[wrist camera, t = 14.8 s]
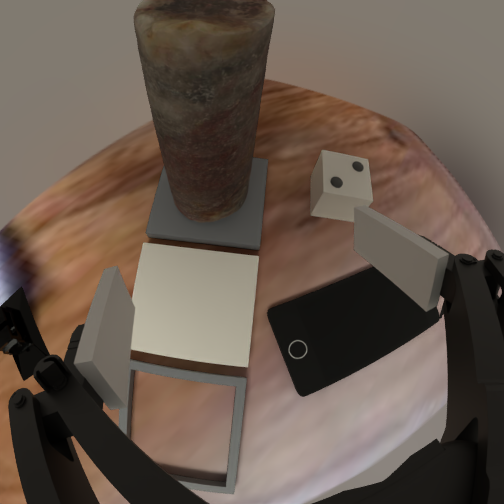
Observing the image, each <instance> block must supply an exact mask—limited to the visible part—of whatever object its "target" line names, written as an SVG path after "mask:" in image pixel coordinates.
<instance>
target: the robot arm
mask: <svg viewBox="0 0 504 504" xmlns="http://www.w3.org/2000/svg"><path fill="white" fill-rule="evenodd" d="M354 251H356V252H357V253H358V254H359V255H361V256H362V257H363V258H364V259H365V260H367V261H368V262H369V263H370V264H372V265H373V266H374V267H375V268H376V269H378V270H379V271H380V272H381V273H382V274H384V275H385V276H386V277H387V278H388V279H390V280H391V281H392V282H393V283H394V284H395V285H397V286H398V287H399V288H400V289H401V290H402V291H403V292H405V293H406V294H407V295H408V296H409V297H410V298H411V299H413V300H414V301H415V302H416V303H417V304H418V305H419V306H420V307H422V308H423V309H424V310H425V311H426V312H427V311H428V310H430V309H432V308H434V307H436V306H437V304H438V301H439V297H440V295H441V296H442V297H443V298H444V303H443V306H442V310H441V313H440V317H439V318H442V315H443V314H444V319H445V329H446V343H447V364H448V400H447V420H446V428H445V431H444V434H443V436H442V439H441V442H440V443H439V441H438V440H437V439H435V440H434V441H432V442H431V443H429V444H428V445H427V446H425V447H424V448H422V449H421V450H419V451H417V452H416V453H414V454H413V455H411V456H410V457H409V458H408V459H407V460H406V461H405V462H404V463H403V464H402V465H401V466H400V467H399V468H398V469H397V470H396V471H394V473H392V474H391V475H390V476H389V477H388V478H387V479H385V480H384V481H382V482H379V483H376V484H372V485H368V486H364V487H360V488H355V489H351V490H347V491H343V492H341V493H338V494H336V495H333V496H331V497H329V498H326V499H323V500H321V501H318V502H315V503H312V504H504V253H502V252H501V251H499V250H498V251H497V250H488V251H487V252H486V256H485V260H480V261H478V260H477V259H476V258H475V257H473V256H471V255H468V254H458V255H456V256H454V255H453V254H451V253H450V252H448V251H447V250H445V249H443V248H442V247H440V246H439V245H438V246H437V244H435V243H434V242H431V240H429V239H427V238H426V237H424V236H421V235H417V234H416V233H414V232H412V231H411V230H409V229H407V228H405V227H404V226H402V225H400V224H399V223H397V222H395V221H393V220H391V219H390V218H388V217H386V216H384V215H382V214H381V213H379V212H377V211H375V210H373V209H371V208H369V207H368V206H366V205H362V206H358V207H354ZM500 287H501V289H502V294H501V297H500V298H499V296H498V295H497V294H498V291H499V288H500ZM134 316H135V306H134V304H133V302H132V300H131V297H130V295H129V293H128V290H127V288H126V286H125V283H124V281H123V279H122V276H121V274H120V271H119V269H118V266H114V267H110V268H107V269H104V271H103V274H102V276H101V279H100V282H99V284H98V287H97V290H96V293H95V296H94V298H93V301H92V304H91V307H90V310H89V313H88V316H87V319H86V322H85V324H82V325H78V327H77V328H76V329H75V331H74V332H73V333H72V336H71V339H70V343H69V345H68V348H67V349H68V350H67V352H66V355H65V358H64V362H63V361H62V359H61V358H60V357H59V356H58V355H49V356H46V357H45V358H43V359H41V360H40V361H39V362H38V363H37V365H36V367H35V368H34V373H33V375H34V378H35V380H36V381H37V382H38V383H39V384H40V386H41V387H42V388H43V389H44V390H45V391H43V392H40V393H38V394H36V395H33V394H32V393H31V391H30V390H28V389H27V388H21V389H18V390H17V391H16V392H14V393H13V394H12V396H11V398H10V400H9V405H8V409H9V419H10V427H11V435H12V442H13V448H14V453H15V458H16V463H17V468H18V472H19V476H20V481H21V484H22V488H23V492H24V495H25V499H26V502H27V504H99V502H98V500H97V498H96V496H95V494H94V492H93V490H92V488H91V485H90V483H89V481H88V479H87V477H86V474H85V472H84V470H83V468H82V465H81V463H80V460H79V458H78V455H77V453H76V450H75V447H74V445H73V442H72V439H71V436H74V437H75V438H76V440H77V441H78V443H79V444H80V445H81V447H82V448H83V449H84V451H85V452H86V453H87V455H88V456H89V457H90V459H91V460H92V461H93V462H94V464H95V465H96V466H97V467H98V468H99V470H100V471H101V472H102V473H103V474H104V476H105V477H106V478H107V479H108V480H109V481H110V483H111V484H112V485H113V486H114V487H115V488H116V489H117V490H118V491H119V492H120V493H121V495H122V496H123V497H124V498H125V499H126V500H127V501H128V502H129V503H130V504H209V503H208V502H206V501H205V500H203V499H202V498H200V497H199V496H197V495H196V494H195V493H193V492H192V491H191V490H189V489H188V488H186V487H185V486H184V485H182V484H181V483H180V482H179V481H177V480H176V479H175V478H174V477H172V476H171V475H170V474H169V473H167V472H166V471H165V470H164V469H163V468H161V467H160V466H159V465H158V464H157V463H156V462H154V461H153V460H152V459H151V458H150V457H149V456H148V455H147V454H145V453H144V452H143V451H142V450H141V449H140V448H139V447H138V446H137V445H136V444H135V443H134V442H133V441H132V440H131V439H130V438H129V437H128V436H127V435H126V434H125V433H124V432H123V431H122V430H121V429H120V428H119V427H118V426H117V425H116V424H115V423H114V422H113V421H112V420H111V419H110V418H109V417H108V415H107V414H106V413H105V412H104V411H103V402H104V403H105V404H106V405H107V406H108V408H109V409H110V410H113V409H121V408H127V400H128V380H129V365H130V353H131V342H132V333H133V324H134Z"/></svg>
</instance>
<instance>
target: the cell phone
mask: <svg viewBox="0 0 504 504" xmlns="http://www.w3.org/2000/svg"><path fill="white" fill-rule="evenodd" d="M267 316H268V319H269V322H270V325H271V327H272V330H273V332H274V335H275V338H276V340H277V343H278V345H279V348H280V350H281V353H282V356H283V358H284V361H285V363H286V366H287V368H288V371H289V373H290V376H291V379H292V381H293V384H294V386H295V389H296V391H297V393H298V394H299V395H300V396H302V397H304V396H307V395H309V394H312V393H314V392H316V391H318V390H320V389H323V388H325V387H327V386H329V385H331V384H333V383H335V382H337V381H339V380H341V379H343V378H345V377H347V376H349V375H351V374H353V373H355V372H357V371H359V370H360V369H362V368H364V367H366V366H368V365H370V364H371V363H373V362H375V361H377V360H379V359H380V358H382V357H384V356H385V355H387V354H389V353H391V352H392V351H394V350H396V349H397V348H399V347H400V346H402V345H404V344H405V343H407V342H408V341H410V340H412V339H413V338H415V337H416V336H418V335H419V334H421V333H422V332H424V331H425V330H427V329H428V328H430V327H431V326H433V325H434V324H435V323H437V322H438V321H439V312H438V310H437V307H434V308H432V309H430V310H428V311H427V312H426V311H425V310H424V309H423V308H422V307H420V306H419V305H418V304H417V303H416V302H415V301H414V300H413V299H411V298H410V297H409V296H408V295H407V294H406V293H405V292H403V291H402V290H401V289H400V288H399V287H398V286H397V285H395V284H394V283H393V282H392V281H391V280H390V279H388V278H387V277H386V276H385V275H384V274H382V273H381V272H380V271H379V270H378V269H376V268H375V267H371V268H369V269H367V270H364V271H362V272H360V273H358V274H355V275H353V276H350V277H348V278H346V279H343V280H341V281H339V282H336V283H334V284H331V285H329V286H327V287H324V288H322V289H319V290H317V291H314V292H312V293H309V294H307V295H304V296H302V297H299V298H296V299H294V300H291V301H289V302H286V303H283V304H281V305H278V306H275V307H273V308H271V309H269V310H268V312H267Z"/></svg>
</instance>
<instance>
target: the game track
mask: <svg viewBox="0 0 504 504" xmlns="http://www.w3.org/2000/svg"><path fill="white" fill-rule="evenodd" d="M267 166H268V159H262V158H254V157H253V159H252V168H251V174H250V181H249V187H248V193H247V197H246V199H245V202H244V204H243V205H242V207H241V208H240V209H239V210H238V211H236V212H234V213H233V214H231V215H230V216H227V217H225V218H222V219H220V220H217V221H214V222H205V223H199V222H196V221H193V220H190V219H188V218H187V217H185V216H184V215H183V214H182V213H181V212H180V211H179V210H178V208H177V207H176V205H175V203H174V199H173V196H172V193H171V190H170V186H169V182H168V178H167V174H166V170H165V166H164V167H163V170H162V173H161V177H160V180H159V184H158V187H157V191H156V194H155V198H154V202H153V205H152V209H151V213H150V217H149V221H148V225H147V229H146V234H147V236H148V237H150V238H159V239H168V240H176V241H185V242H193V243H202V244H210V245H219V246H227V247H236V248H244V249H252V250H259V248H260V241H261V231H262V220H263V209H264V199H265V188H266V177H267ZM258 262H259V256H252V255H244V254H235V253H227V252H219V251H210V250H202V249H193V248H185V247H177V246H169V245H160V244H152V243H144V242H143V246H142V251H141V255H140V260H139V265H138V270H137V275H136V280H135V285H134V291H133V297H132V302H133V304H134V306H135V316H134V324H133V333H132V342H131V349H132V350H137V351H142V352H146V353H152V354H157V355H162V356H168V357H173V358H179V359H186V360H192V361H199V362H206V363H214V364H222V365H230V366H239V367H248V362H249V352H250V342H251V333H252V323H253V313H254V303H255V293H256V283H257V272H258ZM135 370H137V371H142V372H146V373H151V374H156V375H161V376H167V377H172V378H178V379H184V380H190V381H197V382H204V383H211V384H219V385H227V386H236V391H235V400H234V410H233V420H232V429H231V439H230V448H229V458H228V468H227V477H226V482H221V481H212V480H204V479H197V478H190V477H184V476H179V475H173V474H170V475H171V476H172V477H174V478H175V479H176V480H177V481H179V482H180V483H181V484H182V485H184V486H185V487H186V488H188V489H192V490H199V491H206V492H215V493H225V494H234V490H235V482H236V473H237V464H238V455H239V446H240V437H241V428H242V419H243V409H244V400H245V390H246V381H247V378H246V377H240V376H230V375H222V374H214V373H206V372H199V371H192V370H186V369H180V368H174V367H168V366H163V365H157V364H152V363H147V362H142V361H138V360H133V359H130V365H129V380H128V400H127V408H121V409H119V428H120V429H121V430H122V431H123V432H124V433H125V434H126V435H127V436H128V437H129V438H130V432H131V412H132V397H133V384H134V373H135Z"/></svg>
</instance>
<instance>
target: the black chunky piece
mask: <svg viewBox="0 0 504 504" xmlns="http://www.w3.org/2000/svg"><path fill="white" fill-rule="evenodd" d="M0 351H3V353H4V354H9V355H13V358H14V360H15V362H16V365H17V367H18V370H19V372H20V374H21V376H22V379H23V380H24V381H25V380H26V379H28V378H29V377H30V376H32V375H33V373H34V368H35V367H36V365H37V363H38V362H39V361H40V360H41V359H43V358H45V357H46V356H49V355H50V354H49V352H48V350H47V348H46V346H45V343H44V341H43V339H42V337H41V334H40V332H39V330H38V327H37V325H36V323H35V320H34V318H33V315H32V313H31V310H30V307H29V305H28V302H27V299H26V296H25V293H24V290H23V287H20V288H19V289H18V290H17V291H16V292H15V293H14V294H13V295H12V296H11V297H10V298H9V299H7V300H6V301H5V302H4V303H3V304H2V305H1V306H0Z"/></svg>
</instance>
